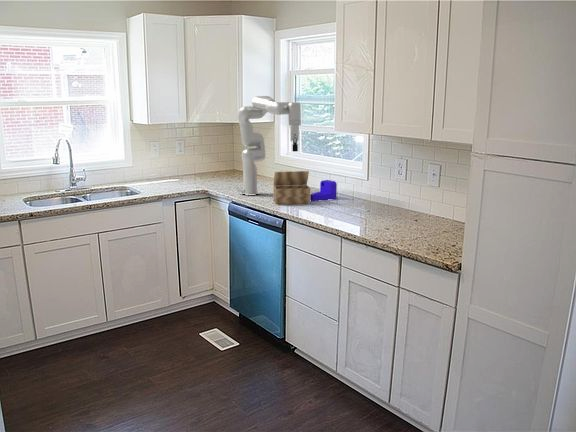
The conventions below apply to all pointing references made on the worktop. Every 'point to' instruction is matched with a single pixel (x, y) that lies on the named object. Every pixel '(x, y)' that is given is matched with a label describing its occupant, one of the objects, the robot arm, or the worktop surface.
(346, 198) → the worktop surface
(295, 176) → the lid flap
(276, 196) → the open wooden box
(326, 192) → the bracket
